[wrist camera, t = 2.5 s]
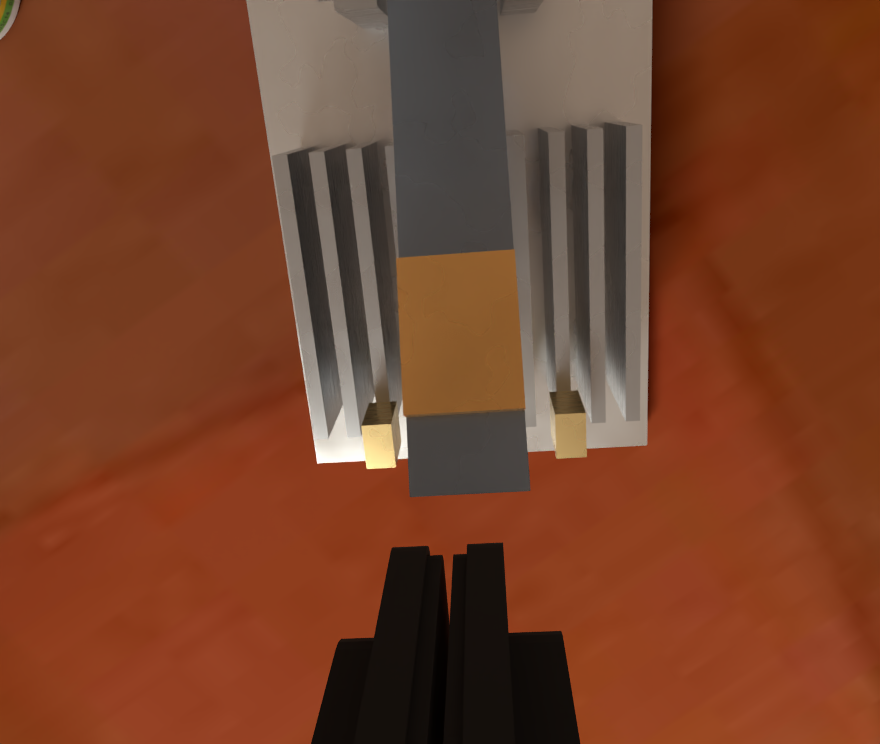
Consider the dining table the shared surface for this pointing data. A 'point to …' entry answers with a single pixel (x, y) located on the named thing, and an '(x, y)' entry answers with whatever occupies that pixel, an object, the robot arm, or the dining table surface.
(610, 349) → the heatsink base
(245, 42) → the dining table surface
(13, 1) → the supplement bottle
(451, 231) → the strap
